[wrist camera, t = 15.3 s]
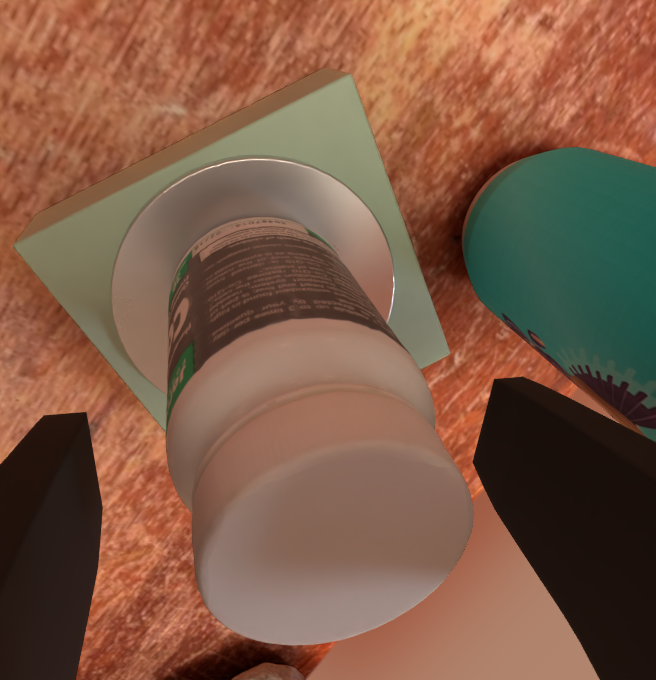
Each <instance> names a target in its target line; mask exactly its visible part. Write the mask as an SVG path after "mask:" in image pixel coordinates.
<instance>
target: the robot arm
mask: <svg viewBox="0 0 656 680" xmlns="http://www.w3.org/2000/svg"><path fill="white" fill-rule="evenodd" d="M473 464H474V466H475V469H476V471H477V473H478V475H479V478H480V480H481V482H482V484H483V486H484V489H485V491H486V493H487V495H488V497H489V498H490V501H491V503H492V505H493V507H494V509H495V510H496V512H497V514H498V515H499V517H500V518H501V520H502V522H503V523H504V525H505V526H506V528H507V529H508V531H509V532H510V534H511V535H512V537H513V538H514V540H515V542H516V543H517V545H518V546H519V548H520V549H521V551H522V552H523V554H524V555H525V557H526V558H527V560H528V561H529V563H530V565H531V566H532V567H533V569H534V571H535V572H536V574H537V575H538V577H539V578H540V580H541V581H542V583H543V584H544V586H545V587H546V589H547V590H548V592H549V593H550V595H551V596H552V598H553V599H554V601H555V603H556V604H557V605H558V607H559V609H560V610H561V612H562V613H563V615H564V616H565V618H566V619H567V621H568V623H569V625H570V626H571V628H572V629H573V631H574V633H575V634H576V636H577V638H578V639H579V641H580V643H581V645H582V647H583V649H584V651H585V652H586V654H587V656H588V658H589V660H590V662H591V664H592V665H593V667H594V669H595V671H596V673H597V675H598V677H599V679H600V680H656V442H655V441H653V440H651V439H649V438H647V437H645V436H643V435H641V434H639V433H637V432H635V431H633V430H631V429H629V428H627V427H625V426H623V425H621V424H619V423H617V422H615V421H613V420H611V419H609V418H607V417H605V416H603V415H601V414H599V413H597V412H595V411H593V410H591V409H590V408H588V407H586V406H584V405H582V404H580V403H578V402H576V401H574V400H572V399H570V398H568V397H566V396H564V395H562V394H560V393H558V392H556V391H554V390H552V389H550V388H548V387H545V386H543V385H541V384H539V383H537V382H534V381H532V380H529V379H527V378H524V377H514V378H502V379H494V382H493V386H492V390H491V394H490V397H489V401H488V405H487V409H486V413H485V417H484V421H483V424H482V428H481V432H480V436H479V440H478V444H477V447H476V451H475V455H474V459H473ZM102 509H103V507H102V501H101V495H100V489H99V483H98V477H97V472H96V466H95V460H94V454H93V448H92V442H91V436H90V430H89V425H88V419H87V413H86V412H81V413H69V414H57V415H44V416H43V417H42V418H41V419H40V420H39V421H38V422H37V423H36V424H35V425H34V427H33V428H32V429H31V430H30V431H29V432H28V433H27V435H26V436H25V437H24V438H23V439H22V440H21V442H20V443H19V444H18V445H17V446H16V447H15V448H14V450H13V451H12V452H11V453H10V454H9V455H8V457H7V458H6V459H5V460H4V461H3V462H2V463H1V464H0V680H76V675H77V670H78V666H79V661H80V656H81V651H82V646H83V641H84V636H85V631H86V626H87V621H88V616H89V611H90V606H91V601H92V596H93V591H94V585H95V580H96V575H97V570H98V561H99V549H100V537H101V523H102Z"/></svg>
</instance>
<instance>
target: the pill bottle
mask: <svg viewBox="0 0 656 680" xmlns="http://www.w3.org/2000/svg"><path fill="white" fill-rule="evenodd" d="M167 362H168V371H167V408H166V452H167V460H168V467H169V472H170V475H171V478H172V481H173V484H174V486H175V489H176V491H177V493H178V495H179V497H180V498H181V500H182V501H183V503H184V504H185V505H186V507H187V508H188V509H189V510H190V511H191V512H192V544H193V554H194V564H195V576H196V581H197V585H198V589H199V592H200V594H201V597H202V599H203V601H204V604H205V605H206V607H207V608H208V610H209V611H210V612H211V614H212V615H213V616H214V617H215V618H216V619H217V620H218V621H220V622H221V623H222V624H223V625H224V626H225V627H227V628H228V629H230V630H232V631H234V632H236V633H237V634H240V635H242V636H244V637H246V638H249V639H253V640H257V641H261V642H265V643H270V644H280V645H312V644H321V643H328V642H333V641H338V640H342V639H346V638H349V637H352V636H355V635H358V634H361V633H364V632H367V631H369V630H372V629H374V628H377V627H379V626H381V625H383V624H385V623H387V622H389V621H391V620H393V619H395V618H397V617H398V616H400V615H402V614H403V613H405V612H407V611H408V610H410V609H411V608H413V607H414V606H416V605H417V604H418V603H419V602H421V601H422V600H424V599H425V598H426V597H427V596H428V595H429V594H431V593H432V592H433V591H434V590H435V589H436V588H437V587H438V586H439V585H440V584H441V583H442V582H443V581H444V580H445V578H446V577H447V576H448V575H449V574H450V572H451V571H452V570H453V568H454V567H455V565H456V564H457V562H458V561H459V559H460V558H461V556H462V554H463V552H464V550H465V547H466V544H467V542H468V539H469V537H470V534H471V532H472V526H473V504H472V498H471V494H470V492H469V489H468V486H467V483H466V481H465V479H464V477H463V475H462V474H461V472H460V470H459V469H458V467H457V466H456V464H455V462H454V461H453V459H452V458H451V456H450V455H449V453H448V452H447V450H446V448H445V446H444V445H443V443H442V441H441V439H440V437H439V436H438V434H437V433H436V431H435V409H434V403H433V399H432V396H431V393H430V390H429V387H428V384H427V382H426V380H425V378H424V376H423V374H422V372H421V370H420V369H419V367H418V365H417V364H416V362H415V361H414V359H413V357H412V356H411V354H410V353H409V352H408V350H407V349H406V348H405V347H404V346H403V345H402V344H401V342H400V341H399V339H398V338H397V337H396V335H395V334H394V332H393V331H392V330H391V328H390V327H389V325H388V324H387V323H386V321H385V320H384V319H383V317H382V316H381V314H380V313H379V312H378V310H377V309H376V307H375V306H374V304H373V303H372V302H371V300H370V299H369V298H368V296H367V295H366V293H365V292H364V291H363V289H362V288H361V286H360V285H359V284H358V282H357V281H356V279H355V278H354V277H353V275H352V274H351V272H350V271H349V269H348V268H347V266H346V265H345V263H344V262H343V261H342V260H341V259H340V257H339V256H338V255H337V253H336V252H335V251H334V249H333V248H332V247H331V246H330V245H329V244H328V243H327V242H326V241H325V240H324V239H323V238H322V237H321V236H319V235H318V234H317V233H315V232H314V231H312V230H311V229H309V228H307V227H305V226H303V225H301V224H298V223H296V222H293V221H290V220H285V219H280V218H274V217H251V218H244V219H239V220H235V221H231V222H228V223H226V224H223V225H221V226H219V227H217V228H215V229H213V230H211V231H210V232H208V233H207V234H206V235H204V236H203V237H202V238H200V239H199V240H198V241H197V242H196V243H195V244H194V245H193V246H192V247H191V248H190V249H189V250H188V251H187V253H186V254H185V256H184V257H183V259H182V260H181V262H180V264H179V265H178V267H177V269H176V272H175V274H174V277H173V280H172V284H171V289H170V295H169V306H168V360H167Z"/></svg>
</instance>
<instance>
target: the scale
mask: <svg viewBox="0 0 656 680" xmlns="http://www.w3.org/2000/svg"><path fill="white" fill-rule="evenodd" d="M251 217H274V218H280V219H285V220H290V221H293V222H296V223H298V224H301V225H303V226H305V227H307V228H309V229H311V230H312V231H314V232H315V233H317V234H318V235H319V236H321V237H322V238H323V239H324V240H325V241H326V242H327V243H328V244H329V245H330V246H331V247H332V248H333V249H334V251H335V252H336V253H337V255H338V256H339V257H340V259H341V260H342V261H343V262H344V263H345V265H346V266H347V268H348V269H349V271H350V272H351V274H352V275H353V277H354V278H355V279H356V281H357V282H358V284H359V285H360V286H361V288H362V289H363V291H364V292H365V293H366V295H367V296H368V298H369V299H370V300H371V302H372V303H373V304H374V306H375V307H376V309H377V310H378V312H379V313H380V314H381V316H382V317H383V319H384V320H385V321H386V323H387V324H388V325H389V327H390V328H391V330H392V331H393V332H394V334H395V335H396V337H397V338H398V339H399V341H400V342H401V344H402V345H403V346H404V347H405V348H406V349H407V350H408V352H409V353H410V354H411V356H412V357H413V359H414V361H415V362H416V364H417V365H418V367H419V369H422V368H424V367H426V366H428V365H430V364H432V363H434V362H436V361H438V360H440V359H442V358H444V357H446V356H448V355H449V354H450V350H449V347H448V344H447V342H446V339H445V336H444V333H443V330H442V327H441V325H440V322H439V319H438V316H437V313H436V311H435V308H434V305H433V302H432V299H431V296H430V294H429V291H428V288H427V285H426V282H425V279H424V277H423V274H422V271H421V268H420V265H419V263H418V260H417V257H416V254H415V251H414V248H413V246H412V243H411V240H410V237H409V234H408V231H407V229H406V226H405V223H404V220H403V217H402V214H401V212H400V209H399V206H398V203H397V200H396V198H395V195H394V192H393V189H392V186H391V183H390V181H389V178H388V175H387V172H386V169H385V166H384V164H383V161H382V158H381V155H380V152H379V150H378V147H377V144H376V141H375V138H374V135H373V133H372V130H371V127H370V124H369V121H368V118H367V116H366V113H365V110H364V107H363V104H362V102H361V99H360V96H359V93H358V90H357V87H356V85H355V82H354V79H353V76H352V75H351V74H350V73H346V72H342V71H337V70H333V69H329V68H322V69H320V70H318V71H316V72H314V73H312V74H310V75H308V76H306V77H304V78H302V79H300V80H299V81H297V82H295V83H293V84H291V85H289V86H287V87H285V88H283V89H281V90H279V91H277V92H275V93H273V94H271V95H269V96H267V97H265V98H263V99H261V100H259V101H257V102H255V103H253V104H251V105H249V106H247V107H245V108H243V109H242V110H240V111H238V112H236V113H234V114H232V115H230V116H228V117H226V118H224V119H222V120H220V121H218V122H216V123H214V124H212V125H210V126H208V127H206V128H204V129H202V130H200V131H198V132H196V133H194V134H192V135H190V136H188V137H186V138H185V139H183V140H181V141H179V142H177V143H175V144H173V145H171V146H169V147H167V148H165V149H163V150H161V151H159V152H157V153H155V154H153V155H151V156H149V157H147V158H145V159H143V160H141V161H139V162H137V163H135V164H133V165H131V166H129V167H128V168H126V169H124V170H122V171H120V172H118V173H116V174H114V175H112V176H110V177H108V178H106V179H104V180H102V181H100V182H98V183H96V184H94V185H92V186H90V187H88V188H86V189H84V190H82V191H80V192H78V193H76V194H74V195H72V196H71V197H69V198H67V199H65V200H63V201H61V202H59V203H57V204H55V205H53V206H51V207H49V208H47V209H45V210H43V211H41V212H39V213H37V214H36V215H35V216H34V218H33V219H32V220H31V222H30V223H29V224H28V226H27V227H26V228H25V230H24V231H23V233H22V234H21V235H20V237H19V238H18V239H17V241H16V242H15V243H14V245H13V246H14V248H15V250H16V251H17V252H18V253H19V255H20V256H21V257H22V258H23V259H24V261H25V262H26V263H27V264H28V266H29V267H30V268H31V269H32V270H33V272H34V273H35V274H36V275H37V276H38V278H39V279H40V280H41V281H42V283H43V284H44V285H45V286H46V287H47V289H48V290H49V291H50V292H51V293H52V295H53V296H54V297H55V298H56V300H57V301H58V302H59V303H60V304H61V306H62V307H63V308H64V309H65V311H66V312H67V313H68V314H69V315H70V317H71V318H72V319H73V320H74V321H75V323H76V324H77V325H78V326H79V328H80V329H81V330H82V331H83V332H84V334H85V335H86V336H87V337H88V339H89V340H90V341H91V342H92V343H93V345H94V346H95V347H96V348H97V349H98V351H99V352H100V353H101V354H102V356H103V357H104V358H105V359H106V360H107V362H108V363H109V364H110V365H111V367H112V368H113V369H114V370H115V371H116V373H117V374H118V375H119V376H120V377H121V379H122V380H123V381H124V382H125V384H126V385H127V386H128V387H129V388H130V390H131V391H132V392H133V393H134V394H135V396H136V397H137V398H138V399H139V401H140V402H141V403H142V404H143V405H144V407H145V408H146V409H147V410H148V412H149V413H150V414H151V415H152V416H153V418H154V419H155V420H156V421H157V422H158V424H159V425H160V426H161V427H162V429H163V430H164V431H165V432H166V408H167V371H168V362H167V360H168V306H169V295H170V289H171V284H172V280H173V277H174V274H175V272H176V269H177V267H178V265H179V264H180V262H181V260H182V259H183V257H184V256H185V254H186V253H187V251H188V250H189V249H190V248H191V247H192V246H193V245H194V244H195V243H196V242H197V241H198V240H199V239H200V238H202V237H203V236H204V235H206V234H207V233H208V232H210V231H211V230H213V229H215V228H217V227H219V226H221V225H223V224H226V223H228V222H231V221H235V220H239V219H244V218H251Z"/></svg>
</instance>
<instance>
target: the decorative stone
mask: <svg viewBox="0 0 656 680" xmlns="http://www.w3.org/2000/svg"><path fill="white" fill-rule="evenodd" d="M232 680H305V678H304V676H303V675H302V674H301V673H300V672H298V670H297V669H296V668H294V667H291V666H287V665H276V664H272V663H262V664H260V665H258V666H255V667H253V668H251V669H249V670H247V671H245V672H242V673H240V674H239V675H237V676H236V677H234V678H233V679H232Z"/></svg>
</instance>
